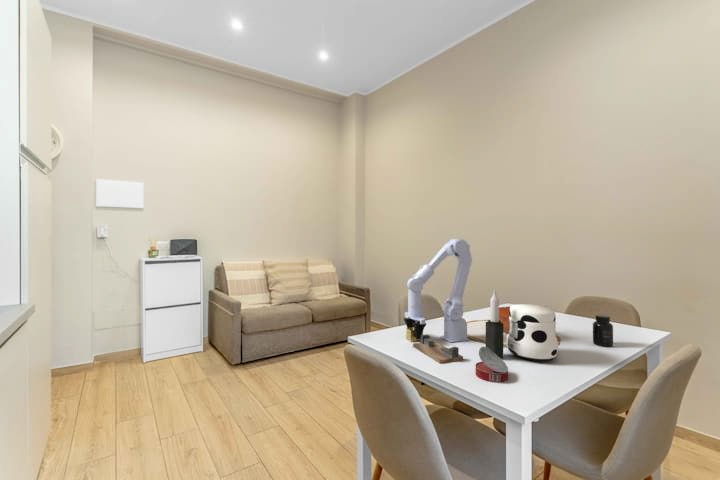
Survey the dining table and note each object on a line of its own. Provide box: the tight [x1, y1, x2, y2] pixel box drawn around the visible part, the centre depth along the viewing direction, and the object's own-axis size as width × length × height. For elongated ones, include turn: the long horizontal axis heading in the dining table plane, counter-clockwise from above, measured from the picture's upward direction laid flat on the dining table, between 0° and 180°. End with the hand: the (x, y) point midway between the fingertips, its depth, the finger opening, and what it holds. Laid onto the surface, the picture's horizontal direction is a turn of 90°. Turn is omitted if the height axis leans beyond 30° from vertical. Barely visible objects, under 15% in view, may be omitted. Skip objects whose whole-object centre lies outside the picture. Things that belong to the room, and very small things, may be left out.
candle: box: [485, 290, 504, 359], centre depth 123 cm, size 5×5×25 cm
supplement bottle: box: [592, 314, 614, 348], centre depth 137 cm, size 7×7×12 cm
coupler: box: [405, 327, 424, 343], centre depth 143 cm, size 6×4×6 cm, turn 110°
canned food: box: [475, 346, 509, 384], centre depth 107 cm, size 11×10×10 cm
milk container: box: [506, 303, 559, 362], centre depth 124 cm, size 17×17×18 cm
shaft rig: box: [412, 333, 464, 364], centre depth 127 cm, size 10×19×4 cm, turn 20°
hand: (414, 336), depth 143 cm, fingers open, 6 cm apart
